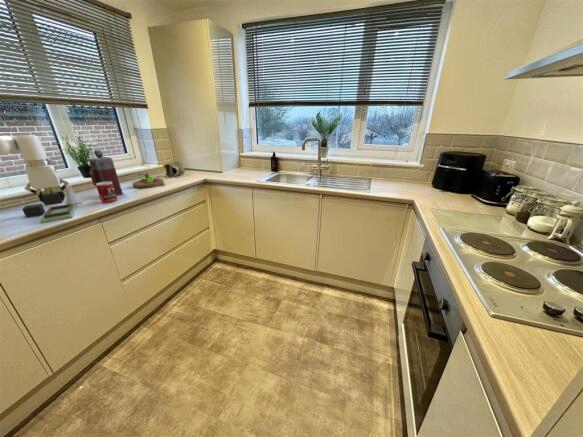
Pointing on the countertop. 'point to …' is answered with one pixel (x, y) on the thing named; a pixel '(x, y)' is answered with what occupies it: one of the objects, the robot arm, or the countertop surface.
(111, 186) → the canned food
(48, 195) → the black square block
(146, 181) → the plant
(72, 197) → the flask
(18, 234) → the countertop surface
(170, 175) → the piston
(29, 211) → the black pad
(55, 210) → the joiner board
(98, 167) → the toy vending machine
